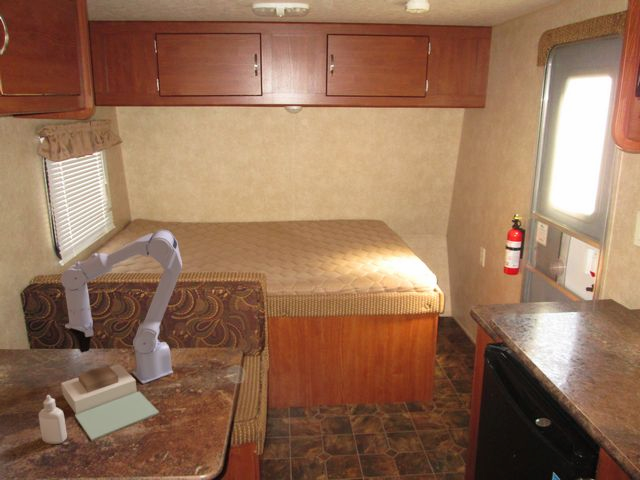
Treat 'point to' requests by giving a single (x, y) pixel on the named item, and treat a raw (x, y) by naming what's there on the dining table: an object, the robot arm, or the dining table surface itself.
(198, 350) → the dining table surface
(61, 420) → the eye dropper bottle
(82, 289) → the robot arm
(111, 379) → the walnut tile
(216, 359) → the dining table surface
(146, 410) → the mat
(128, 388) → the cream flat block
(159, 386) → the dining table surface
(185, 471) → the dining table surface
